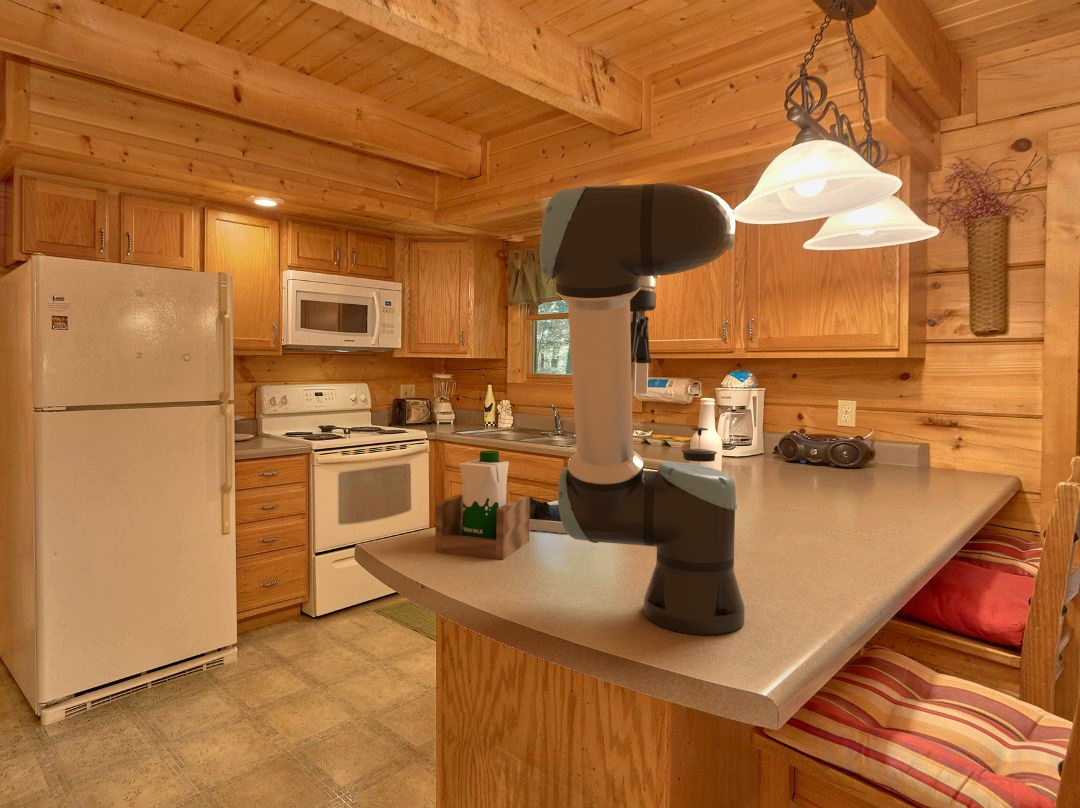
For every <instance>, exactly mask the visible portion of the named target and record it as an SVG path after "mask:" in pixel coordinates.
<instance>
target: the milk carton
mask: <svg viewBox="0 0 1080 808" xmlns="http://www.w3.org/2000/svg"><path fill="white" fill-rule="evenodd" d="M499 455H500V452H499V450H480V452H479V459H474V460H468V461H465V462H462V463H458V464H459V470H460V476H461V482H462V493H463V502H462V534H461V536H470V537H479V538H489V539H496V528H497V509H498V508H500V507H502V506H504V505H506V504H507V480H508V473H509V472H508V471H509V464H510V463H509V462H510V461H504V460H500V456H499Z"/></svg>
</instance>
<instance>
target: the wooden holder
mask: <svg viewBox="0 0 1080 808" xmlns="http://www.w3.org/2000/svg"><path fill="white" fill-rule="evenodd" d="M530 497H531V495H524V494H523V495H522V496H519V497H518V498H516V499H514V500H512V501H510V502H508V503H507V502H506V505H504V506H502V507H500V508H498V509H497V528H496V539H489V538H479V537H470V536H461V534H462V502H463V492H461V493H459V494H455V495H453V496H451V497H449V498H446V499H443V500H440V501H438V502H435V531H434V532H435V537H434V538H435V539H434V540H435V548H434V549H435V550H434V551H435V553H443V554H452V555H459V556H460V555H461V556H469V557H476V558H477V557H478V558H484V557H485V558H486V559H494V560H503V561H504V560H505V559H506V558H508V557H509V556H511V555H512V554H514V553H515V552H516V551H517V550H519V549H520V548H522V547H523V546H524V545H525V543H526V542H527V541H529V542H530V530H529V515H530ZM527 543H528V542H527ZM527 543H526V544H527ZM523 544H524V545H523ZM522 545H523V546H522ZM521 546H522V547H521ZM519 547H520V548H519ZM518 548H519V549H518ZM515 550H516V551H515ZM514 551H515V552H514ZM511 553H512V554H511ZM507 556H508V557H507ZM485 558H484V559H485Z"/></svg>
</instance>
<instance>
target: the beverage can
mask: <svg viewBox="0 0 1080 808" xmlns="http://www.w3.org/2000/svg"><path fill="white" fill-rule="evenodd" d="M530 519H536V520H546V521H557V522H561V518H560V513H559V507H558V504H549V503H548V502H547V501H541V500H536V499H534V497H531V496H530Z"/></svg>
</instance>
